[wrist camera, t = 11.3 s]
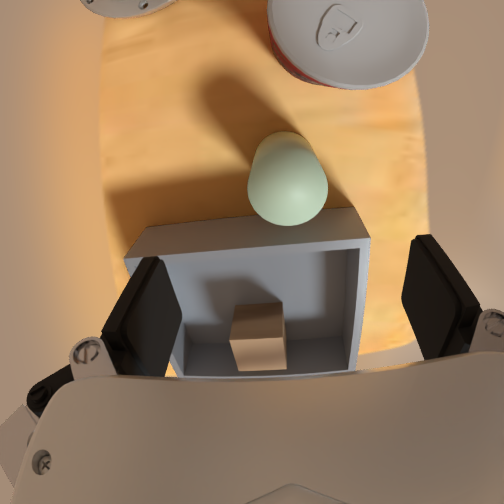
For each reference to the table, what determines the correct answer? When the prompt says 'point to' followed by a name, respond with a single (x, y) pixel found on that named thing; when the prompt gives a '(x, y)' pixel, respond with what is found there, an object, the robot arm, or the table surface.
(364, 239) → the tote
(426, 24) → the canned food
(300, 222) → the cylinder
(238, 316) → the cube
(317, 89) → the table surface
